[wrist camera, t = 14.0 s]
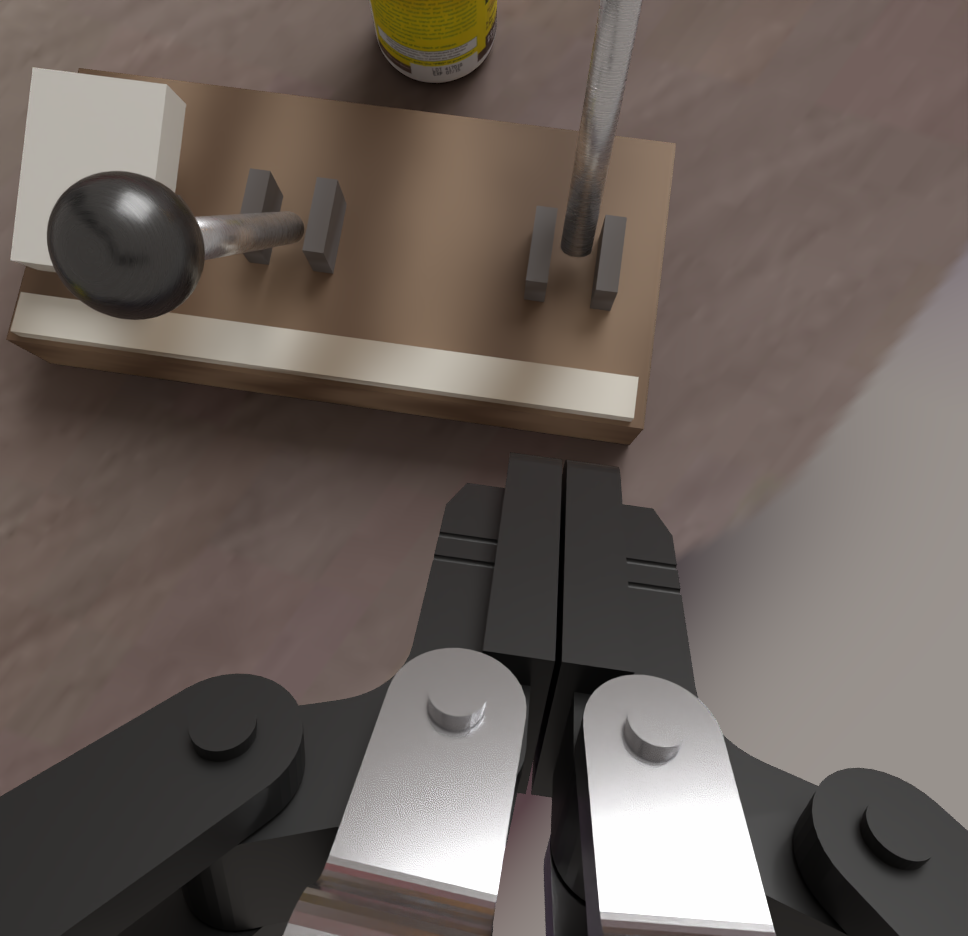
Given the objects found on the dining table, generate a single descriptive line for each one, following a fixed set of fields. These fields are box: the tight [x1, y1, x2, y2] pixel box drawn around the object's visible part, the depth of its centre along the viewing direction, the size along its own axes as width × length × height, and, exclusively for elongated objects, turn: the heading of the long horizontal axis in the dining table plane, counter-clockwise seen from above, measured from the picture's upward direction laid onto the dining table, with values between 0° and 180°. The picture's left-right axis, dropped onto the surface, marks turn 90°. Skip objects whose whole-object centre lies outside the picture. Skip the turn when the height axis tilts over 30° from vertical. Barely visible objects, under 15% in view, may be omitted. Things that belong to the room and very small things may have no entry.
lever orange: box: [560, 0, 643, 257], centre depth 23 cm, size 3×3×14 cm
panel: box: [6, 68, 676, 445], centre depth 31 cm, size 25×12×5 cm, turn 82°
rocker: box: [10, 67, 186, 272], centre depth 28 cm, size 5×7×2 cm
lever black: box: [47, 171, 304, 320], centre depth 23 cm, size 3×3×14 cm
